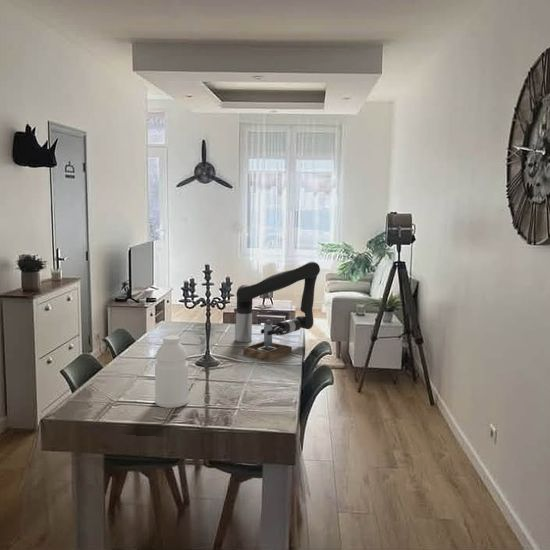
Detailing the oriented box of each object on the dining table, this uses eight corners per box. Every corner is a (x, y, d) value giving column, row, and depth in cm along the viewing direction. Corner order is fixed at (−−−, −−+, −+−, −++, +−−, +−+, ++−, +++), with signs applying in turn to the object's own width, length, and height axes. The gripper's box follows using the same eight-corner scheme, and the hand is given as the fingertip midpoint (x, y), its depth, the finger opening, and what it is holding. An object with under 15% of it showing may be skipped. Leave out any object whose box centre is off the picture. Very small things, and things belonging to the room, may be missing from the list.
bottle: (158, 410, 218) (157, 343, 214) (151, 398, 231) (151, 334, 227) (192, 405, 224) (192, 340, 220) (184, 394, 237) (184, 331, 232)
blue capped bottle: (262, 345, 297) (262, 320, 295) (267, 343, 301) (267, 319, 299) (268, 346, 295) (268, 321, 293) (273, 345, 298) (273, 320, 296)
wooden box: (243, 354, 297) (243, 347, 296) (265, 347, 312) (265, 340, 311) (270, 361, 285) (270, 354, 285) (291, 353, 300) (291, 346, 299)
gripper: (276, 318, 311) (255, 323, 299) (295, 323, 302) (274, 328, 289) (276, 331, 312) (255, 336, 300) (295, 336, 303) (274, 341, 290)
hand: (264, 332), depth 295 cm, fingers closed on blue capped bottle, 4 cm apart
